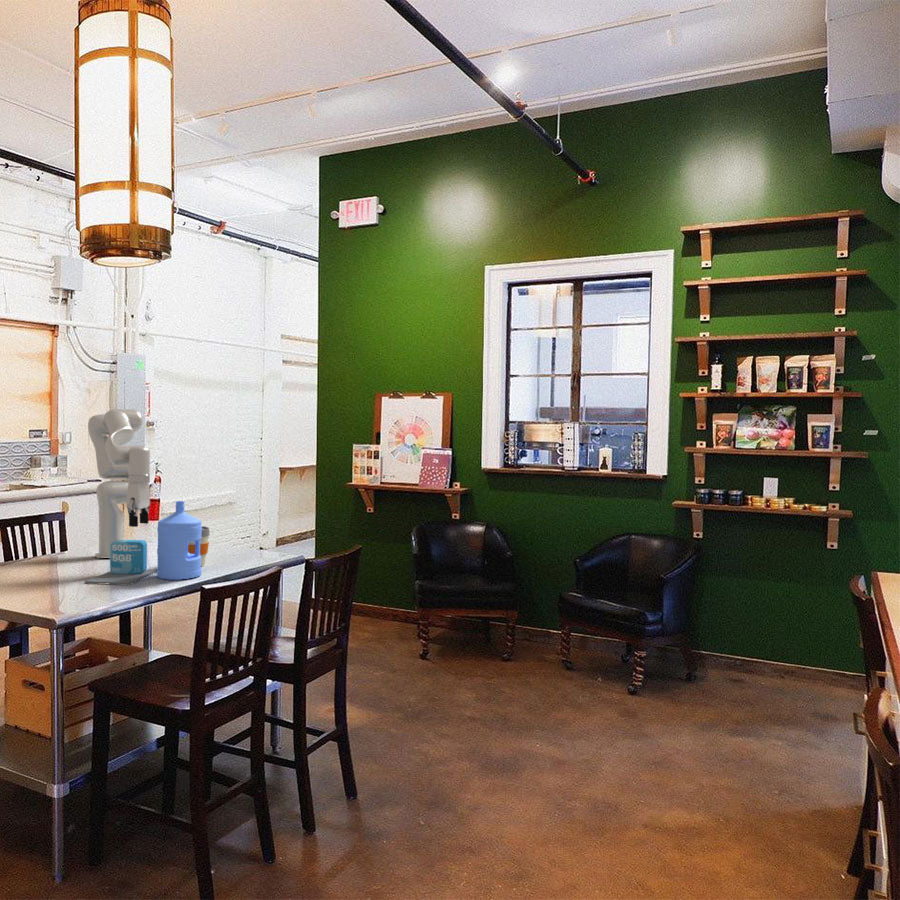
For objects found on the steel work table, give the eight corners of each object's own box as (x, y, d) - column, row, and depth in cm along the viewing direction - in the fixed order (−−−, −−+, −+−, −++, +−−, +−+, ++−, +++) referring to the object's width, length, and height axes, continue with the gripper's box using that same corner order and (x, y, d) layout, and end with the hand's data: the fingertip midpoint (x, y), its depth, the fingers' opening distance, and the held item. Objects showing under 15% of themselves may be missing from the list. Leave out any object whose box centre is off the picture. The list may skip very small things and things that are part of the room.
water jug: (154, 581, 276) (155, 504, 275) (159, 572, 291) (159, 499, 290) (200, 580, 280) (201, 504, 279) (202, 571, 295) (203, 499, 294)
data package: (109, 573, 283) (109, 541, 283) (114, 571, 288) (114, 539, 287) (143, 574, 284) (143, 542, 284) (146, 571, 289) (147, 540, 288)
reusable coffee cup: (203, 569, 299) (203, 531, 299) (171, 568, 300) (171, 530, 299) (213, 563, 312) (214, 526, 311) (183, 562, 312) (183, 525, 311)
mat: (116, 570, 292) (116, 568, 292) (156, 572, 291) (156, 570, 291) (85, 583, 270) (84, 581, 270) (128, 585, 269) (128, 582, 269)
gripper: (140, 477, 301) (140, 521, 302) (118, 480, 284) (118, 527, 284) (158, 477, 300) (158, 522, 301) (137, 481, 283) (137, 528, 284)
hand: (138, 524), depth 293 cm, fingers open, 7 cm apart
